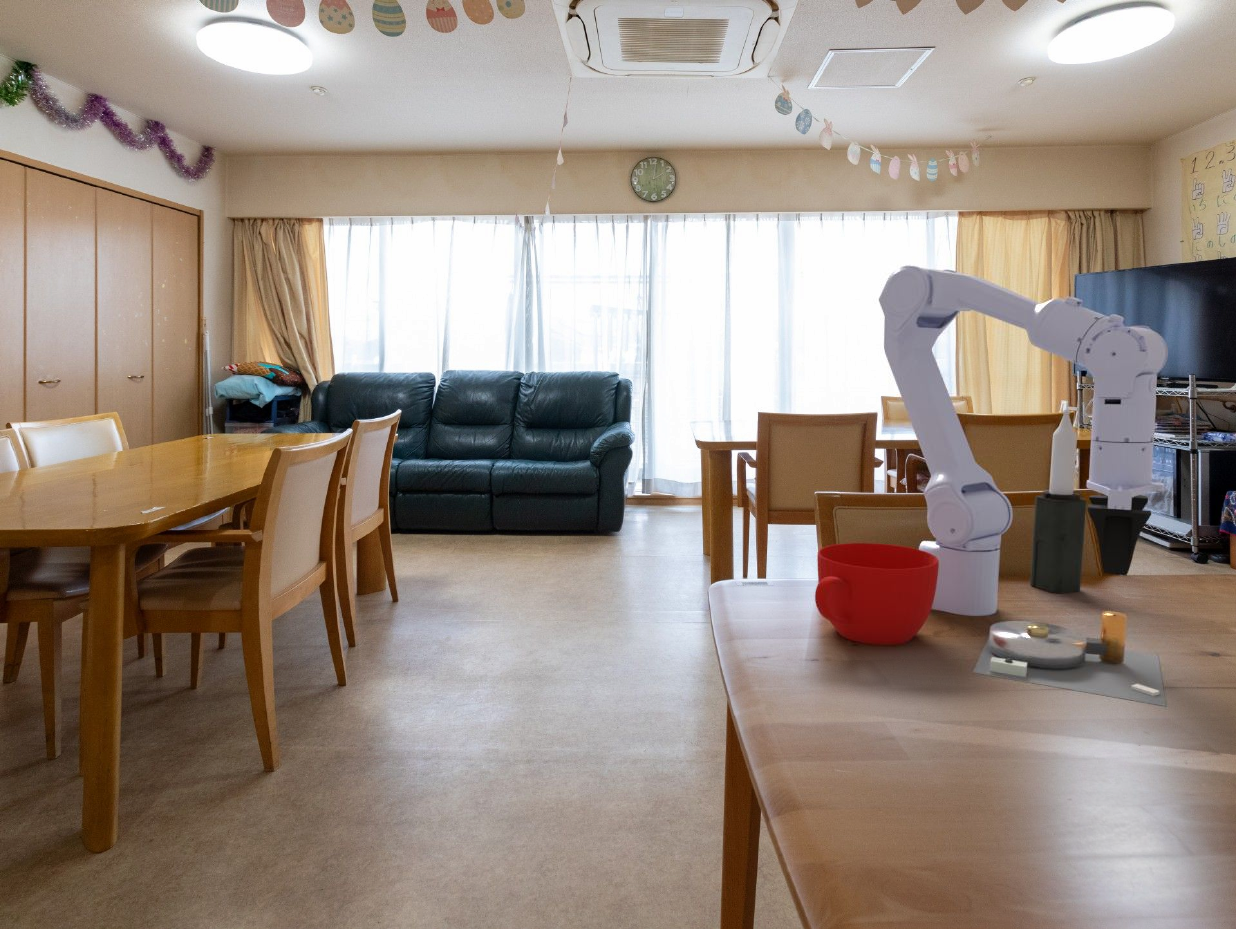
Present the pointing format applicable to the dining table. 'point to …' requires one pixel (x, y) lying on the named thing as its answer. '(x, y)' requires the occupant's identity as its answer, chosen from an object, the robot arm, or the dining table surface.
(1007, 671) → the stand
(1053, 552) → the black and white bottle
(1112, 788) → the dining table surface
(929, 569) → the ceramic cup
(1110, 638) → the crank wheel
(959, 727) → the dining table surface
